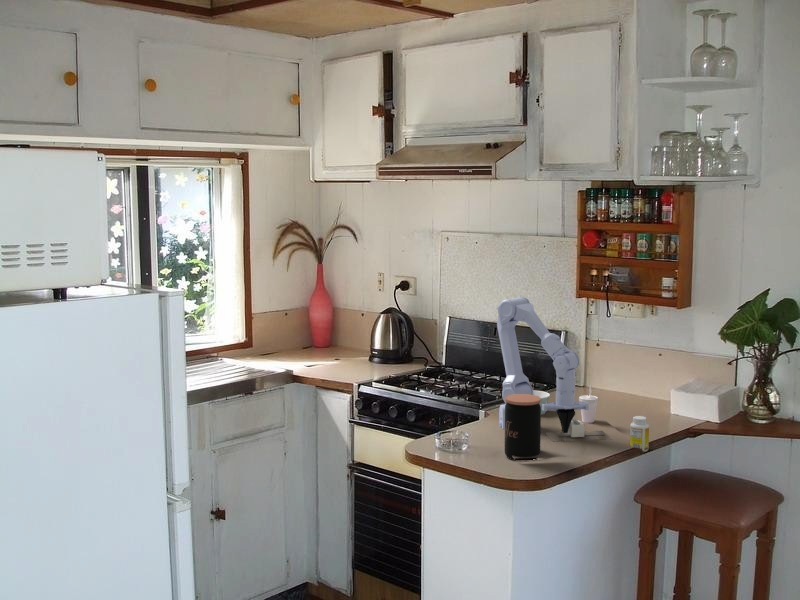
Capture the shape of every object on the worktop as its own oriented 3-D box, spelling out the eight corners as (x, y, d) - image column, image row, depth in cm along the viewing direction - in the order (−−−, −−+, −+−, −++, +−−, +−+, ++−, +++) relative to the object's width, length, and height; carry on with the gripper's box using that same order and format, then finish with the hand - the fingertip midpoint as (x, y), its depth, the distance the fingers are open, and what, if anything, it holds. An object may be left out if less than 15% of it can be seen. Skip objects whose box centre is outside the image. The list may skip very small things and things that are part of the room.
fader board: (553, 446, 285) (553, 441, 285) (544, 437, 295) (545, 432, 295) (612, 444, 287) (612, 439, 287) (602, 435, 297) (602, 430, 297)
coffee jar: (501, 451, 280) (502, 394, 278) (535, 450, 281) (536, 393, 278) (508, 462, 270) (508, 402, 267) (543, 461, 270) (544, 401, 268)
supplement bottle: (644, 447, 284) (645, 414, 283) (651, 452, 278) (652, 419, 277) (627, 447, 283) (628, 415, 282) (633, 453, 278) (634, 420, 277)
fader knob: (571, 437, 288) (572, 423, 288) (567, 432, 293) (567, 418, 292) (584, 436, 289) (584, 422, 288) (579, 432, 293) (579, 418, 293)
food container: (547, 407, 333) (547, 390, 332) (552, 416, 321) (552, 398, 320) (514, 407, 333) (514, 390, 332) (517, 416, 321) (517, 398, 320)
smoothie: (597, 428, 305) (598, 387, 303) (578, 427, 306) (579, 386, 304) (597, 423, 311) (598, 383, 309) (578, 422, 313) (579, 382, 311)
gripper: (546, 393, 284) (545, 436, 286) (592, 392, 285) (591, 434, 287) (540, 388, 291) (540, 430, 293) (585, 387, 292) (584, 428, 294)
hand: (565, 432), depth 290 cm, fingers closed
